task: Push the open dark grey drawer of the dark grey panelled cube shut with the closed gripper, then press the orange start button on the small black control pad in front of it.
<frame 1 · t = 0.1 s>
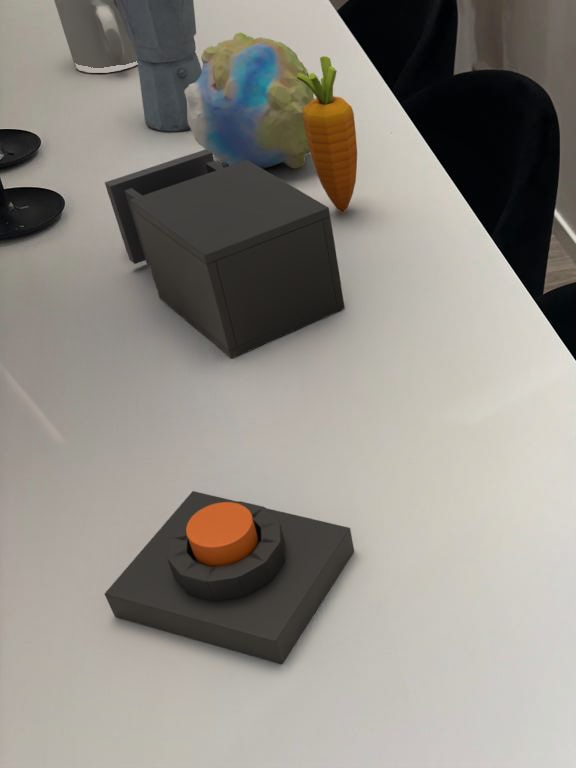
dark grey panelled cube: (250, 303, 88), on the table
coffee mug: (111, 67, 138), on the table
control pad: (237, 583, 62), on the table
carrot: (342, 213, 101), on the table
moka pot: (178, 120, 122), on the table
dark grey drawer: (187, 218, 90), point 5 cm above the table, slide at 6.0 cm
decorative rock: (272, 160, 112), on the table
start button: (222, 534, 59), point 4 cm above the table, slide at 0.1 cm
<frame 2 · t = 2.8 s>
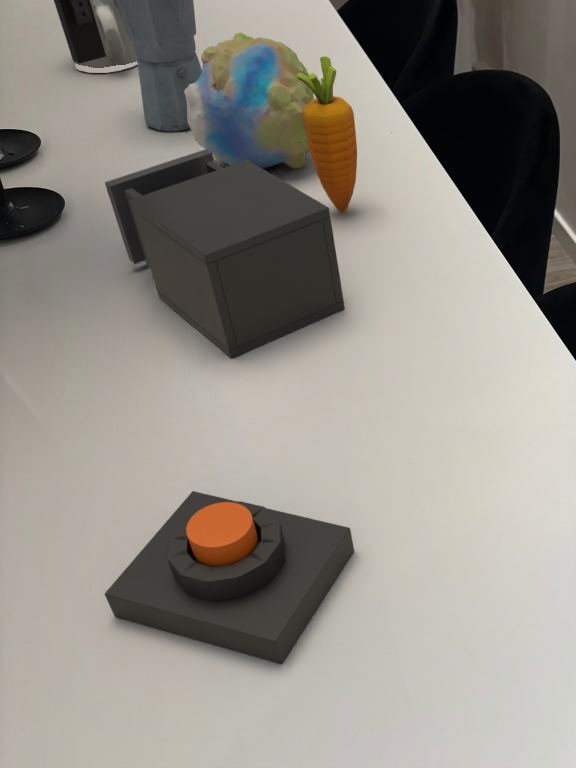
hand: (89, 58, 91), 16 cm above the table, tool pointing down, fingers closed
nothing on the table moved.
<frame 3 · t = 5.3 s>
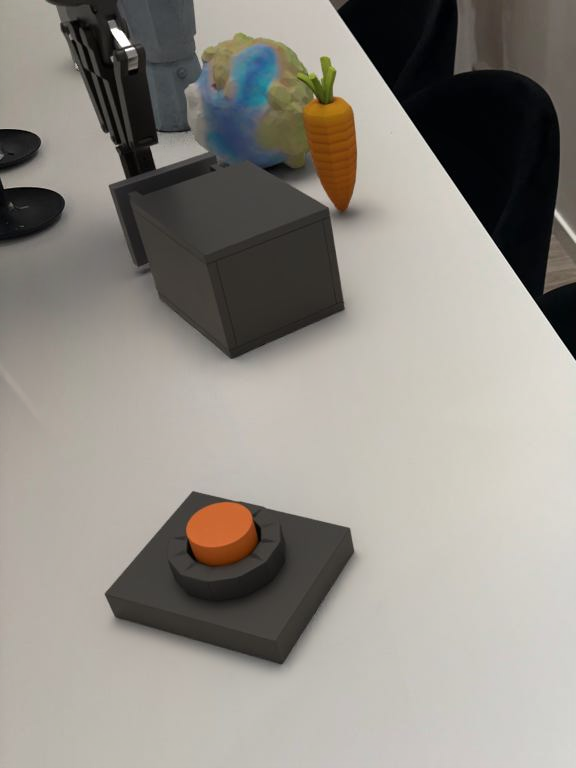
hand: (151, 209, 97), 3 cm above the table, tool pointing down, fingers closed
dark grey drawer: (191, 221, 90), point 5 cm above the table, slide at 5.2 cm, touching gripper
everything else where it was.
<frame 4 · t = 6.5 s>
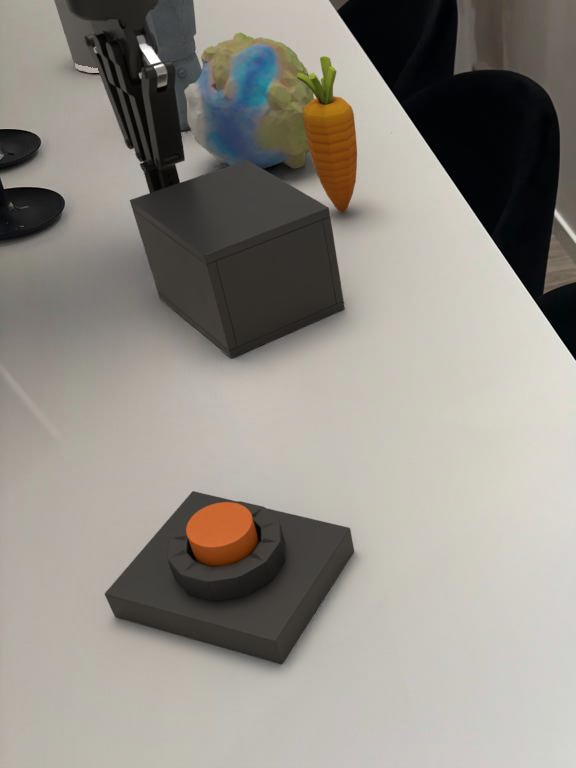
hand: (175, 227, 94), 3 cm above the table, tool pointing down, fingers closed
dark grey drawer: (218, 240, 87), point 5 cm above the table, slide at 0.0 cm, touching dark grey panelled cube, gripper
everything else where it was.
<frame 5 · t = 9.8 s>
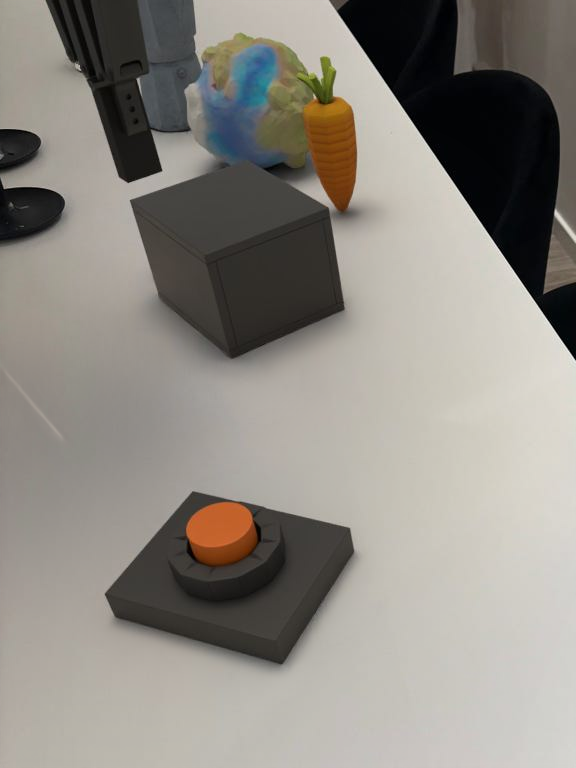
hand: (140, 173, 69), 17 cm above the table, tool pointing down, fingers closed
dark grey drawer: (218, 240, 87), point 5 cm above the table, slide at 0.0 cm
everything else where it was.
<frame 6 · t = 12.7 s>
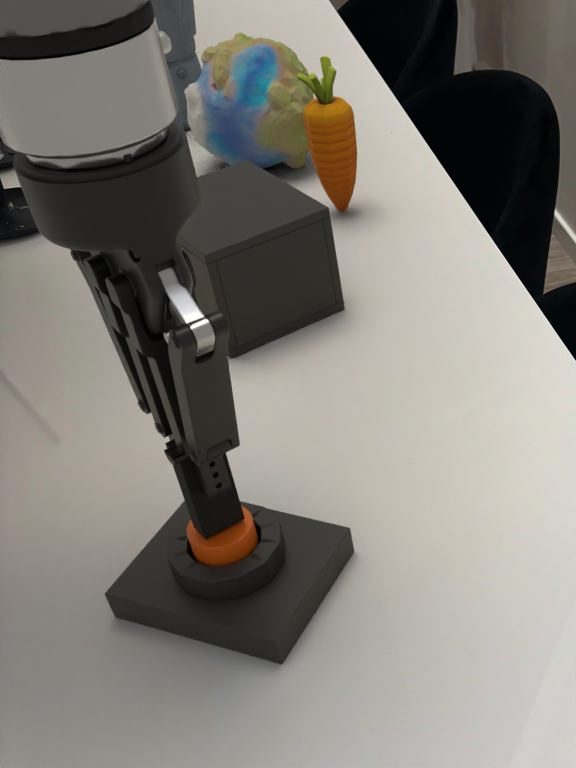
hand: (219, 522, 59), 5 cm above the table, tool pointing down, fingers closed
start button: (222, 535, 59), point 4 cm above the table, slide at 0.0 cm, touching gripper
everything else where it was.
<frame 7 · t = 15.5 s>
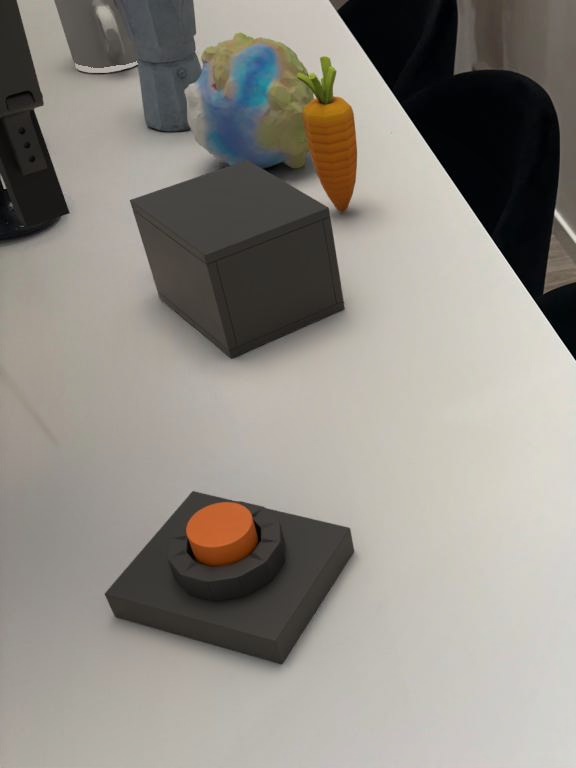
hand: (43, 215, 59), 19 cm above the table, tool pointing down, fingers closed
start button: (222, 534, 59), point 4 cm above the table, slide at 0.1 cm
everything else where it was.
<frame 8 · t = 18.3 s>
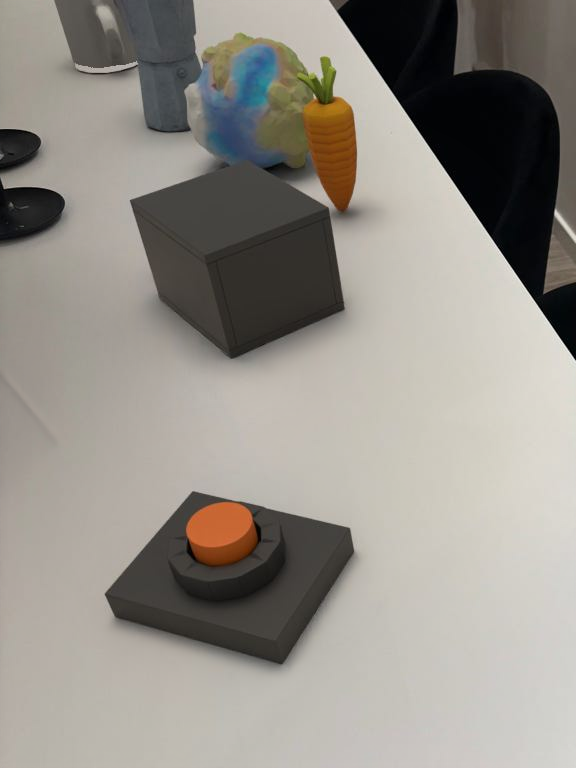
nothing on the table moved.
at the end: dark grey drawer slide at 0.0 cm; start button pushed in 1.0 cm at the most during the clip, back to where it started at the end; start button slide at 0.1 cm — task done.
